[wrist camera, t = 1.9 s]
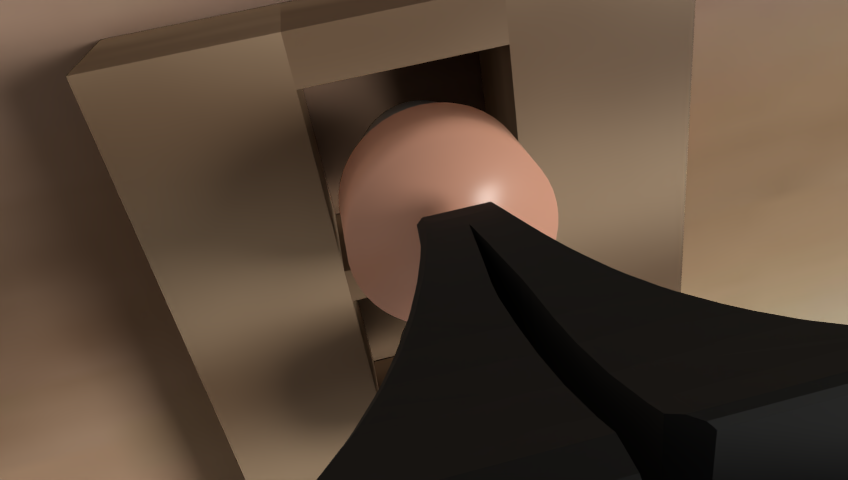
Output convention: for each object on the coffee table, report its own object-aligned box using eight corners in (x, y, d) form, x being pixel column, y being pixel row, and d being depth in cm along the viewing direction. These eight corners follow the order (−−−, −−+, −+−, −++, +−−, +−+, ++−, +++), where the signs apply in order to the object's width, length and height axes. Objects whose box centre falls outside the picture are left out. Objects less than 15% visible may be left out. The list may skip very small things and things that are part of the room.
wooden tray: (631, 436, 26) (670, 501, 23) (297, 525, 25) (300, 602, 22) (633, -69, 17) (698, -55, 14) (100, 39, 16) (65, 76, 13)
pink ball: (508, 213, 17) (563, 299, 14) (352, 250, 17) (370, 346, 13) (492, 56, 15) (551, 113, 12) (313, 95, 14) (322, 164, 11)
